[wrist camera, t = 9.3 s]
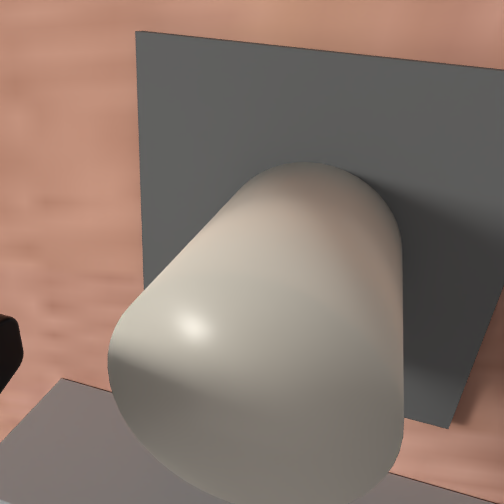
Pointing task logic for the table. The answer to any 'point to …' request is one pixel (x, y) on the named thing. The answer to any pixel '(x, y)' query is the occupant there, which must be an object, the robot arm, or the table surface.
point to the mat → (346, 158)
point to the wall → (124, 461)
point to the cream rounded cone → (273, 345)
